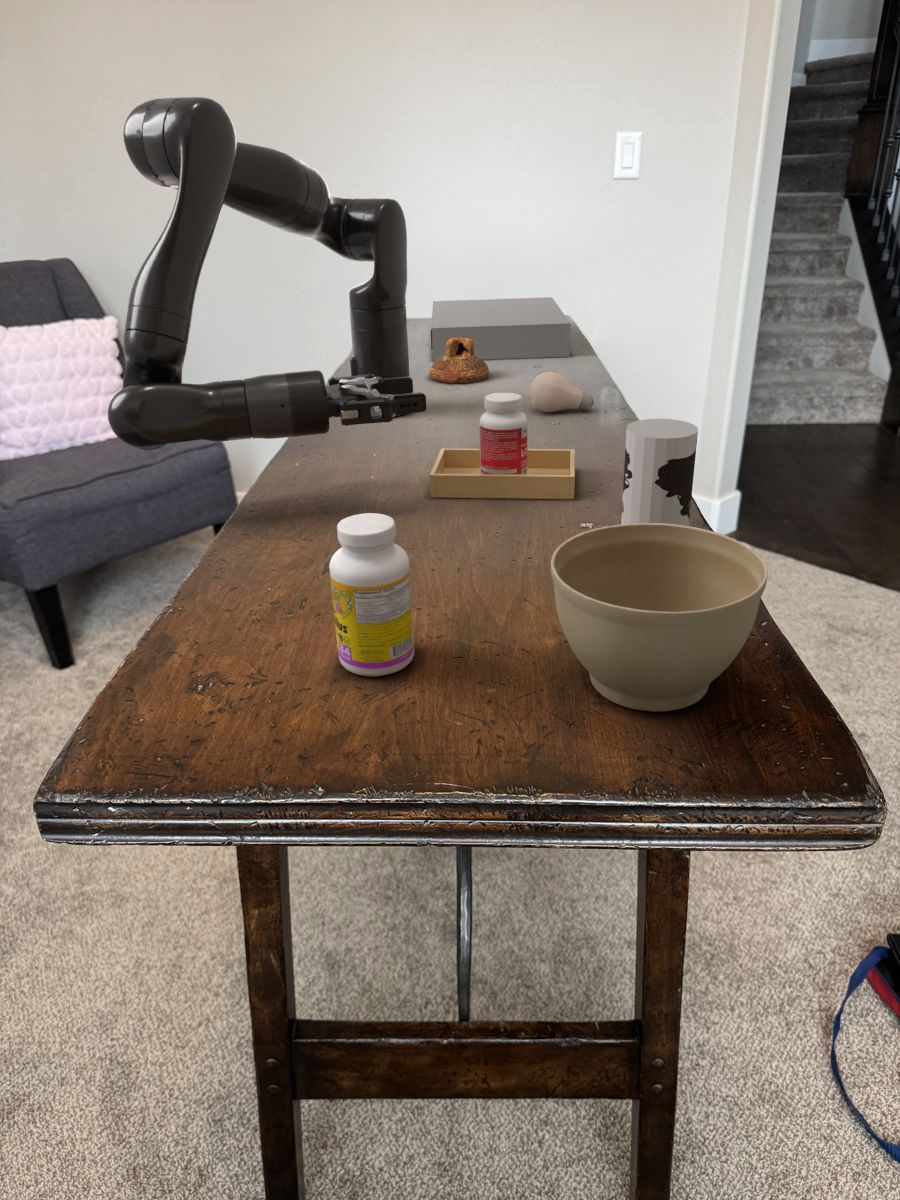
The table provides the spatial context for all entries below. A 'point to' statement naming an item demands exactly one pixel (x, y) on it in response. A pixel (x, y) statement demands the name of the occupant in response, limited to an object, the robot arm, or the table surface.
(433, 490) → the tray
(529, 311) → the box
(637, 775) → the table surface
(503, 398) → the pill bottle
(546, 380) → the light bulb
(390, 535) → the supplement bottle
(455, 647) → the table surface
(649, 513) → the grey patterned cylinder
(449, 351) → the brown domed piece
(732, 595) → the planter bowl
